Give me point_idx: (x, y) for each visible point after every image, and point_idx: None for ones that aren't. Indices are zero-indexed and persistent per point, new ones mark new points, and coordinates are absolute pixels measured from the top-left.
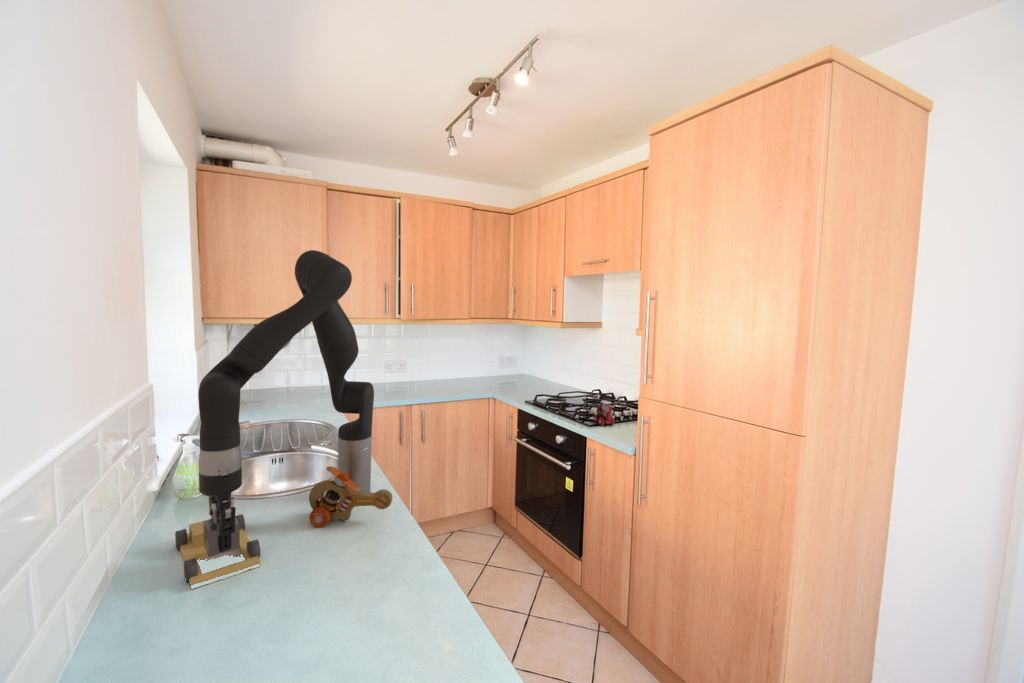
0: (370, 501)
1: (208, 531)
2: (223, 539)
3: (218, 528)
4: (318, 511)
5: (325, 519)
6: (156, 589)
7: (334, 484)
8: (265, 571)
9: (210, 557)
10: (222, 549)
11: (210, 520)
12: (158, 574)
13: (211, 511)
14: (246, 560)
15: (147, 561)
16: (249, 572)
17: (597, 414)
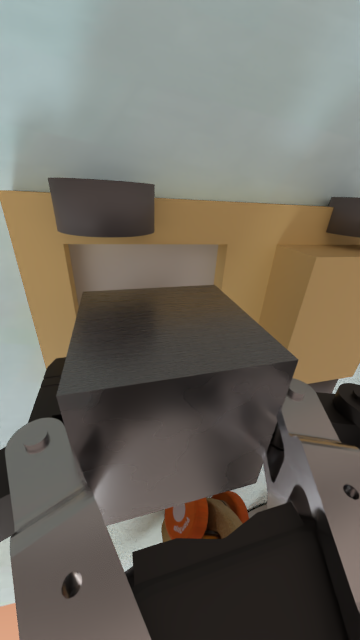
0: None
1: (63, 396)
2: (33, 415)
3: (11, 488)
4: (184, 536)
5: (167, 519)
6: (103, 49)
7: None
8: (26, 401)
9: (206, 283)
10: (52, 363)
11: (266, 397)
12: (226, 95)
13: (310, 489)
14: None
15: (352, 80)
16: (44, 367)
17: None
